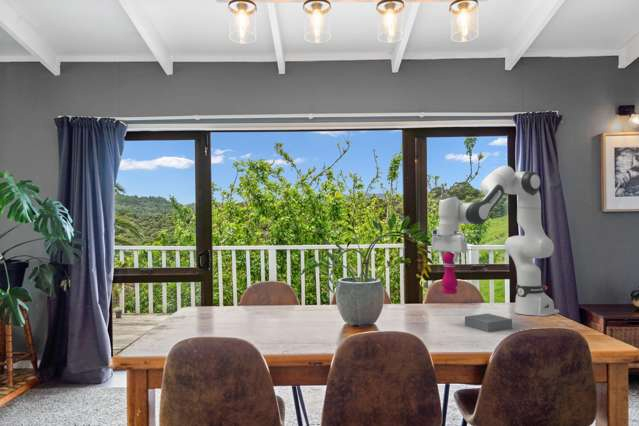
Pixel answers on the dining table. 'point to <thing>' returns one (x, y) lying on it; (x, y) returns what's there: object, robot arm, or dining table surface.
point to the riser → (488, 322)
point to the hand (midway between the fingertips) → (449, 261)
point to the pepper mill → (449, 275)
